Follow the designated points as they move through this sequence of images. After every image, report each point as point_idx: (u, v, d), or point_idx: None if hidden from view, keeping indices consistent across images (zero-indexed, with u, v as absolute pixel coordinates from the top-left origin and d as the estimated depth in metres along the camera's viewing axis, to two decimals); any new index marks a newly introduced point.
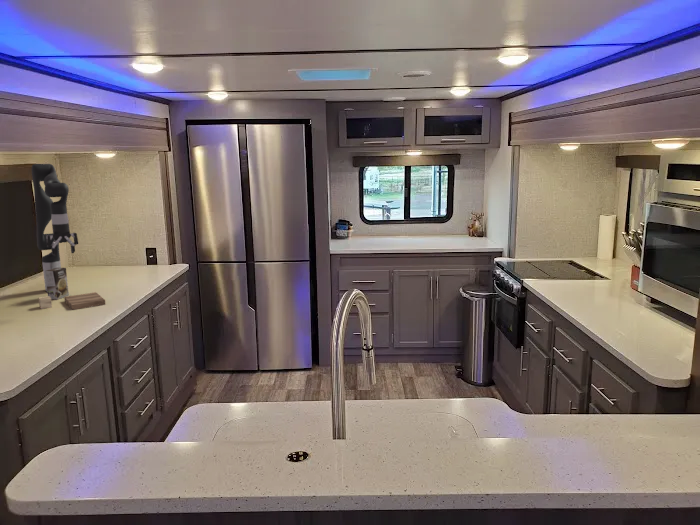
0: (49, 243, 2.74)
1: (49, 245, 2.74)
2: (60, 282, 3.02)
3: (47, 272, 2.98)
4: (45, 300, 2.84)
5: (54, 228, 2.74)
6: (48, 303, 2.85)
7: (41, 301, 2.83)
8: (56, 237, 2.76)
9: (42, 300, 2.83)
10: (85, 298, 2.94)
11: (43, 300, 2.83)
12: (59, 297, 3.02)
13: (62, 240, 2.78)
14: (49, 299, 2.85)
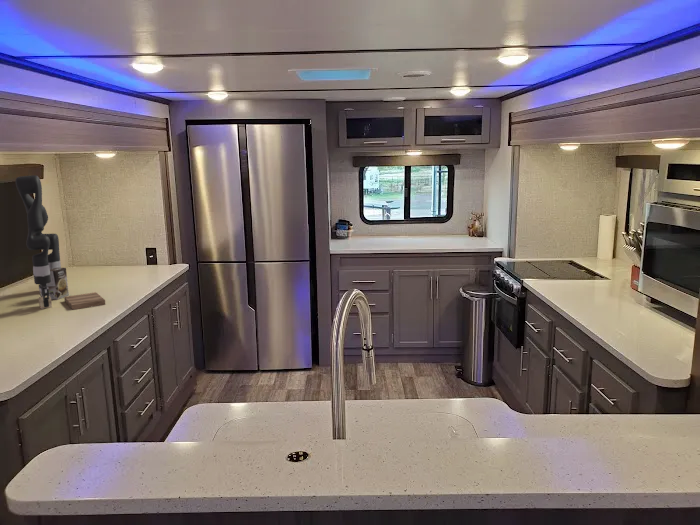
0: (48, 295, 2.82)
1: (48, 297, 2.82)
2: (60, 282, 3.02)
3: None
4: None
5: (46, 279, 2.82)
6: None
7: (41, 301, 2.83)
8: (46, 289, 2.83)
9: (42, 300, 2.83)
10: (85, 298, 2.94)
11: None
12: (59, 297, 3.02)
13: None
14: (49, 299, 2.85)
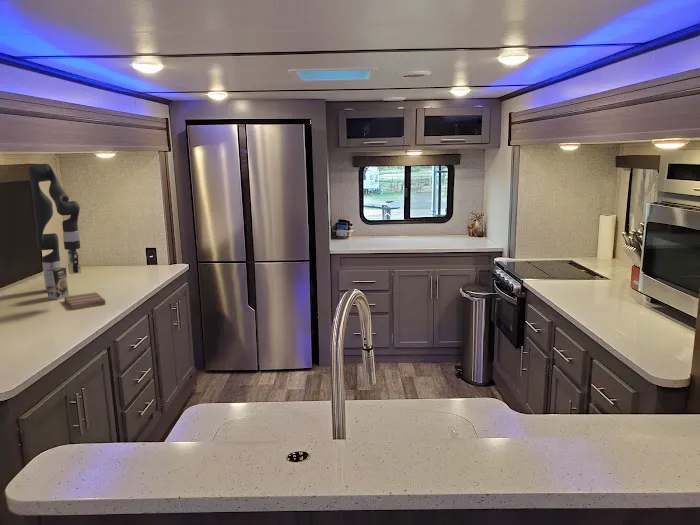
0: None
1: None
2: (60, 282, 3.02)
3: (47, 272, 2.98)
4: None
5: (76, 245, 2.85)
6: None
7: (70, 266, 2.85)
8: None
9: (71, 265, 2.86)
10: (85, 298, 2.94)
11: (72, 265, 2.86)
12: (59, 297, 3.02)
13: None
14: (78, 265, 2.87)
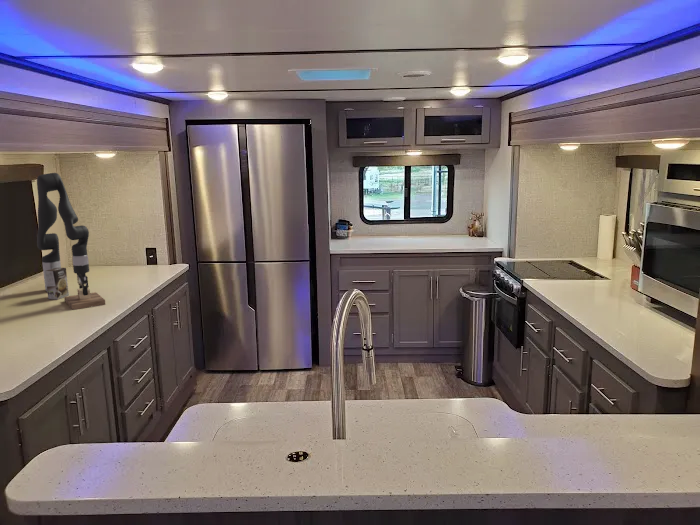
0: None
1: None
2: (60, 282, 3.02)
3: (47, 272, 2.98)
4: None
5: (85, 268, 2.89)
6: None
7: (80, 292, 2.90)
8: None
9: (81, 291, 2.90)
10: None
11: (82, 291, 2.90)
12: (59, 297, 3.02)
13: None
14: (88, 290, 2.92)
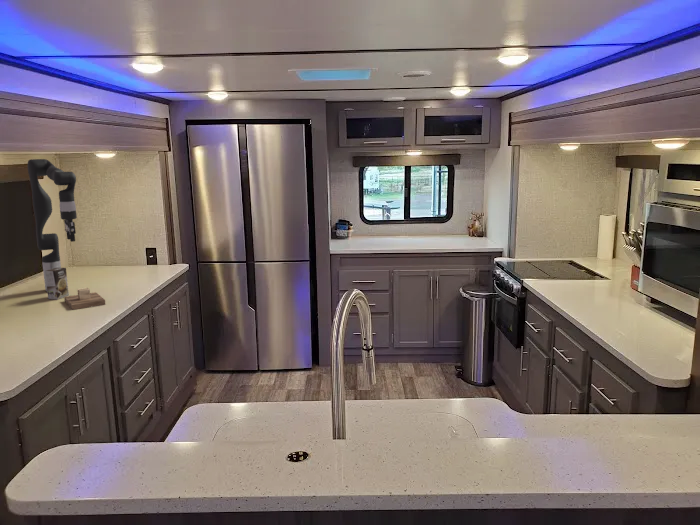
0: None
1: None
2: (60, 282, 3.02)
3: (47, 272, 2.98)
4: (84, 291, 2.91)
5: (73, 215, 2.88)
6: (87, 294, 2.92)
7: (80, 292, 2.90)
8: None
9: (81, 291, 2.90)
10: None
11: (82, 291, 2.90)
12: (59, 297, 3.02)
13: None
14: (88, 290, 2.92)
